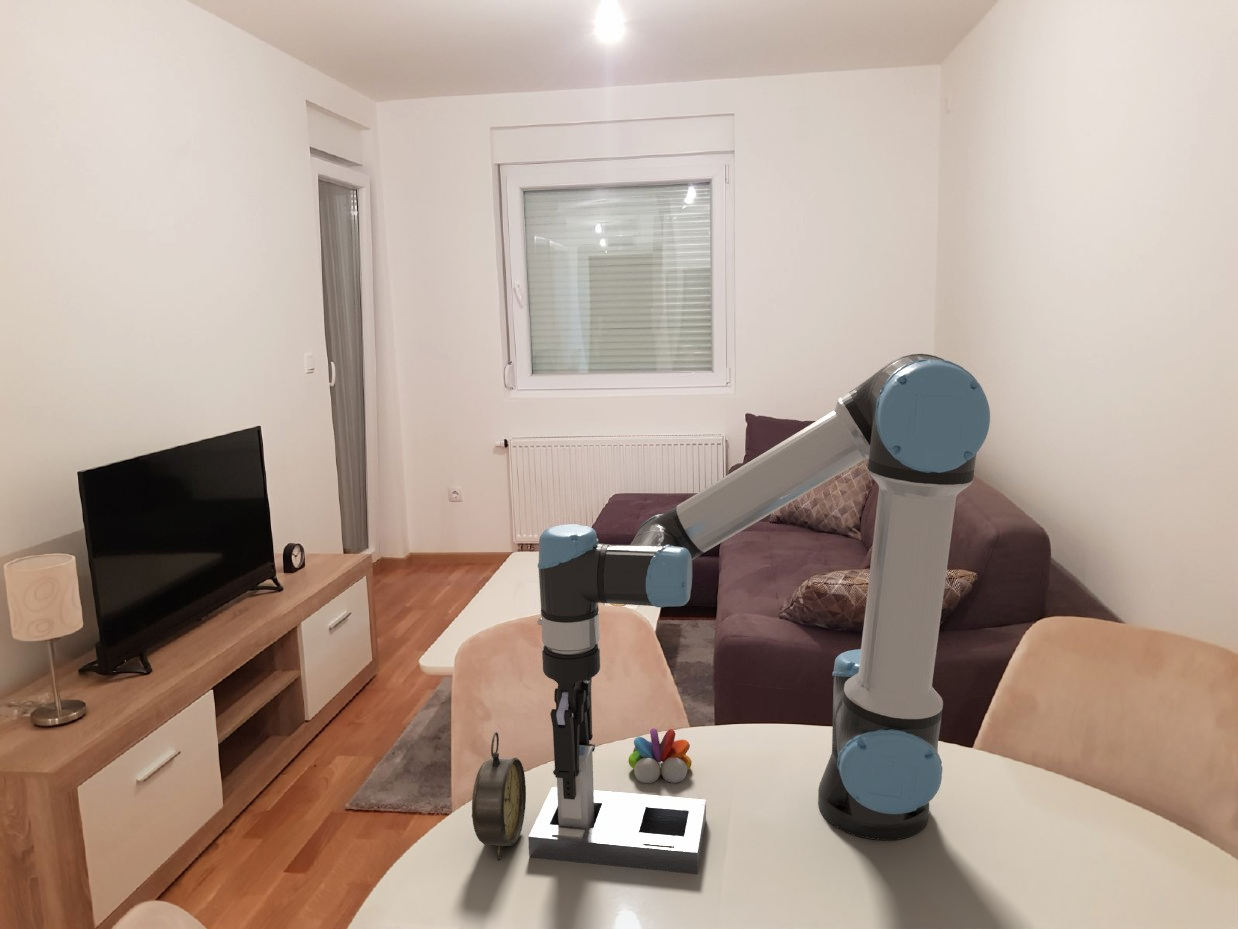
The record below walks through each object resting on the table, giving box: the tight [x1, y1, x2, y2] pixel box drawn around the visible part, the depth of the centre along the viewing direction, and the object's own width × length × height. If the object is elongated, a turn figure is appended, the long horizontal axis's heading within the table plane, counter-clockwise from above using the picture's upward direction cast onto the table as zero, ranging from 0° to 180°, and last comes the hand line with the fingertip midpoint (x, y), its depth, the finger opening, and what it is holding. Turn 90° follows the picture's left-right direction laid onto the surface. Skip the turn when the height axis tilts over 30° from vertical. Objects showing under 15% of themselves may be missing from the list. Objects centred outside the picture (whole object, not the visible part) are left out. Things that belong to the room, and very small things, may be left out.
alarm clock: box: [471, 731, 527, 862], centre depth 118 cm, size 11×5×16 cm, turn 171°
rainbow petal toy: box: [627, 728, 693, 784], centre depth 136 cm, size 8×10×7 cm
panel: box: [528, 786, 707, 875], centre depth 119 cm, size 22×12×4 cm, turn 79°
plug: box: [556, 745, 595, 828], centre depth 119 cm, size 4×4×13 cm
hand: (576, 806), depth 120 cm, fingers closed on plug, 4 cm apart
